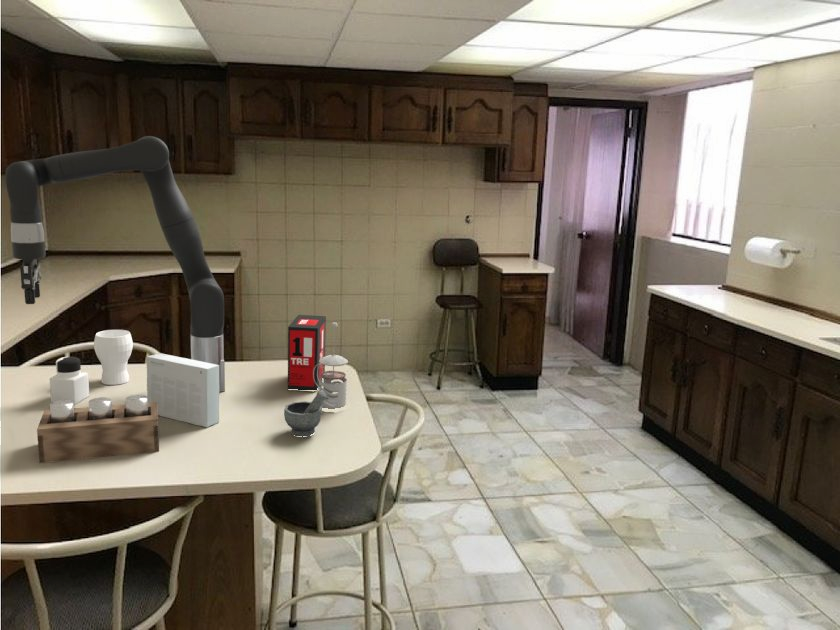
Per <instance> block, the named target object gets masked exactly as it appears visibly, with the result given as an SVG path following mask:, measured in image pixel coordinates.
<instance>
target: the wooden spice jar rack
mask: <svg viewBox="0 0 840 630" xmlns="http://www.w3.org/2000/svg"><path fill="white" fill-rule="evenodd" d="M111 406H112V419H100V420H90V416H89V406H85V407H84V406H83V407H74V420H75V422H63V423H51V413H50V409H45V410H43V413H42V415H41V418H40V420H39V423H38V426H37V428H36V433H37V434H36V435H37V447H38V449H37V450H38V461H39V462H38V463H39V464H43V463H53V462H63V461H64V462H65V461H72V460H73V461H74V460H83V459H84V460H85V459H93V458H104V457H112V456H124V455H133V454H141V453H143V454H144V453H153V452H160V444H159V443H160V441H159V438H160V437H159V436H160V435H159V415H158V411H157V402H150V403H148V416H137V417H127V411H126V403H125V404H111Z"/></svg>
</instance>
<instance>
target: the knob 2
mask: <svg viewBox="0 0 840 630" xmlns="http://www.w3.org/2000/svg"><path fill="white" fill-rule="evenodd" d="M125 404H126V411H127V417H137V416H148V397H147V395H145V394H134V395H129V396H127V397H126V398H125Z"/></svg>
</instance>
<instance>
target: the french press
mask: <svg viewBox="0 0 840 630" xmlns="http://www.w3.org/2000/svg"><path fill="white" fill-rule="evenodd" d="M330 327H331V328H333V340H336V339H335V332H336V331H335V330H336V328H337V327H338V323H337V322H332V323H330ZM332 353H333V354H328V355H325V357H323V358H321V359H320V360H319V362H320V363H319V364H320V365H321V364H323V365H324V367H332V370H325V372H322V373H321V377H322V378H323V380H322V378H320V379H319V378H318V381H319V386H318V385H317V383H316V382H315V379H314V382H315V383H316V385H317V386H318V387H319V388H318V391H323V392H325V393H326V394H327V398H326V399H325V400H324V401H323V403H322V405H321V406H322V408H328V409H335V408H341V407H344V406H345V405H346V403H347V385H348V384H347V378H346V373H345V372H344V371H339V370H335V367H341V366H342V367H343V366H345V365H347V364H348V362H349V361H348V360H349V359H346V358H345V357H343V356H341V355H338V354H335V349H333V351H332ZM319 364H317V365H319ZM317 365H316V366H317ZM320 365H319V366H320ZM316 366H315V368H316ZM319 366H318V368H319ZM324 367H322V365H321V368H324ZM315 368H314V370H315ZM318 368H317V377H318ZM314 370H313V378H314ZM336 380H337V381H336ZM338 380H340V381H338ZM341 381H342V382H341Z"/></svg>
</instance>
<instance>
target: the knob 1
mask: <svg viewBox="0 0 840 630" xmlns="http://www.w3.org/2000/svg"><path fill="white" fill-rule="evenodd" d="M74 408H75V404H73V401H70V400H60V401H55V402H51V403H50V404H49V410H50V413H51V423H63V422H75V420H74Z"/></svg>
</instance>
